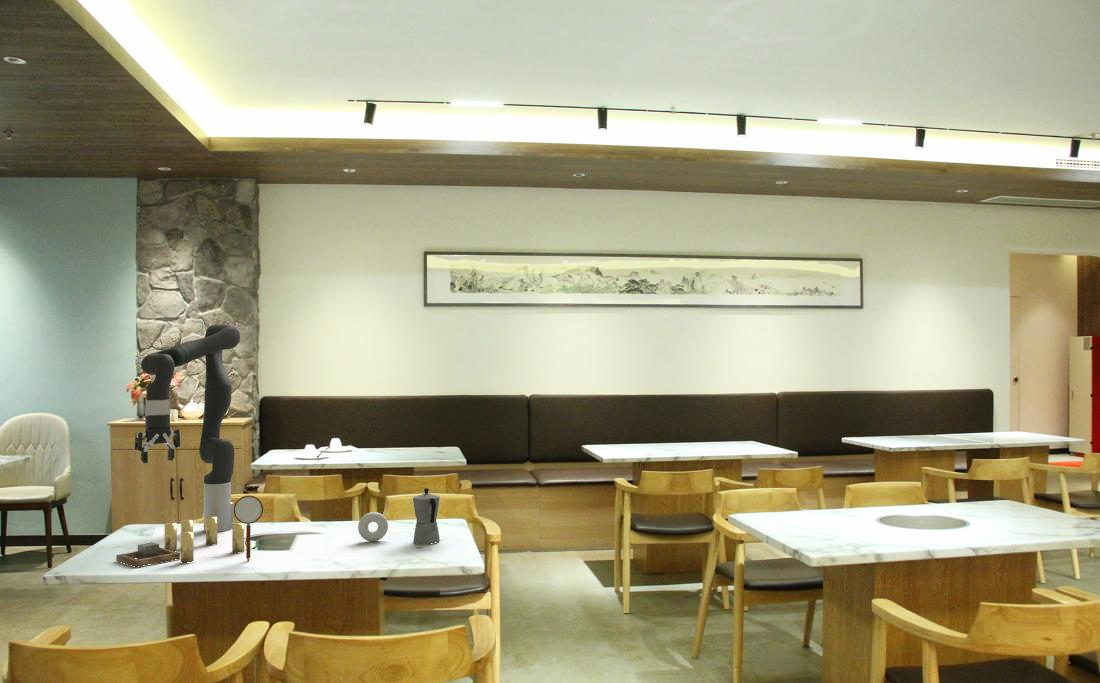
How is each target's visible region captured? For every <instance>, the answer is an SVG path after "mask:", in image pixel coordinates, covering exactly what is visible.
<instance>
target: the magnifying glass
mask: <svg viewBox="0 0 1100 683" xmlns="http://www.w3.org/2000/svg"><path fill="white" fill-rule="evenodd" d="M263 512H264V504H263V502H262V501H261V500H260V499H259V498H258V496H255V495H250V494H249V495H244V496H242V497H240V498H239V499H238V500H237V501H236V502H235V504H234V505H233V516H234V517H235V519H236V520H237V521H238V522H239V523H244V525H246V526H245V527H246V528H245V529H246V534H245V535H246V536H245V537H246V540H245V541H246V542H245V545H246V546H245V547H246V548H245V549H246V550H245V551H246V554H245V557H246V561H247V562H249V561H250V558H251V529H252V528H251V524H254V523H255V522H258V520H260V519H261V518H262V515H263Z"/></svg>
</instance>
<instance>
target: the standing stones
mask: <svg viewBox="0 0 1100 683" xmlns="http://www.w3.org/2000/svg"><path fill="white" fill-rule="evenodd" d="M231 530H232V531H231V535H232V536H231V538H232V539H231V542H232V543H231V545H232V546H231V551H232V552H235V553H234V554H239V553H238V552H242V553H244V552H245V523H242V522H233V524H232V529H231ZM194 534H195V533H194V520H193V519H183V520H180V563H181V562H182V563H187V562H192V561H193V562H194V546H195V544H194V542H195V540H194V538H195V536H194ZM163 535H164V537H163V538H164V541H163V542H164V545H163V546H164V547H163V548H164V549H168V550H171V551H177V550H178V544H177V542H178V536H177V535H178V523H177V522H167V523H164V534H163ZM206 544H207V545H206ZM212 544H216V545H218V532H217V516H210V517H206V532H205V545H206V546H213V545H212ZM177 552H178V551H177ZM193 562H192V563H193ZM182 563H181V564H182ZM187 564H188V563H187Z"/></svg>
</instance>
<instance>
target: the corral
mask: <svg viewBox="0 0 1100 683" xmlns="http://www.w3.org/2000/svg"><path fill="white" fill-rule="evenodd" d="M160 555H161V556H160ZM135 558H137V559H135ZM175 559H179V560H181V552H178V551H177V552H175V551H171V550H168V549H164V547H161V546H159V556H156V557H151V558H145V559H140V560H138V550H136V551H132V552H125V553H121V554H120V553H119V554H116V558H115V561H118V562H117V563H119V562H122V563H121V564H123V563H125V564H124V565H126V564H128V565H127V566H129V565H132V566H135V567H134V568H136V567H138V566H143V565H148V564H154V565H156V564H155V563H159V564H162V563H161V562H164V563H167V562H166V561H169V562H172V561H171V560H174V561H176V560H175ZM132 566H131V567H132ZM143 567H144V566H143ZM138 568H139V567H138Z"/></svg>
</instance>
